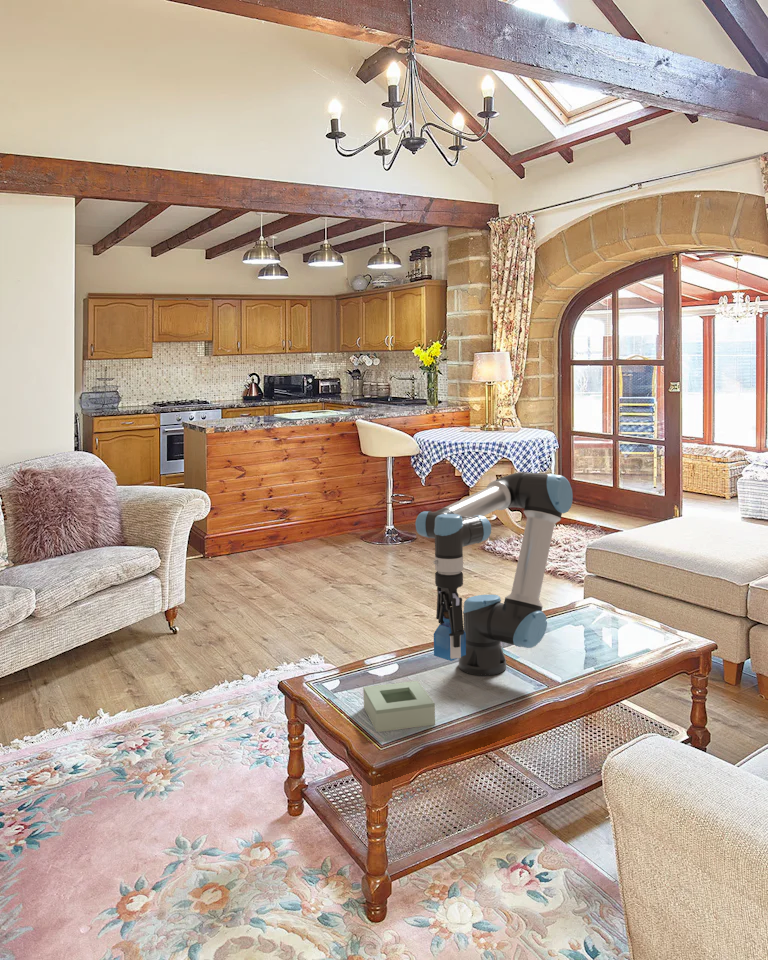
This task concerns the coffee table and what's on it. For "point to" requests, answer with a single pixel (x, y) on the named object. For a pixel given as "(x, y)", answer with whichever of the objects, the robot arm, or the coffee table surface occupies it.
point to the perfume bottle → (446, 640)
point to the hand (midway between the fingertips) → (449, 652)
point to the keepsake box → (398, 706)
